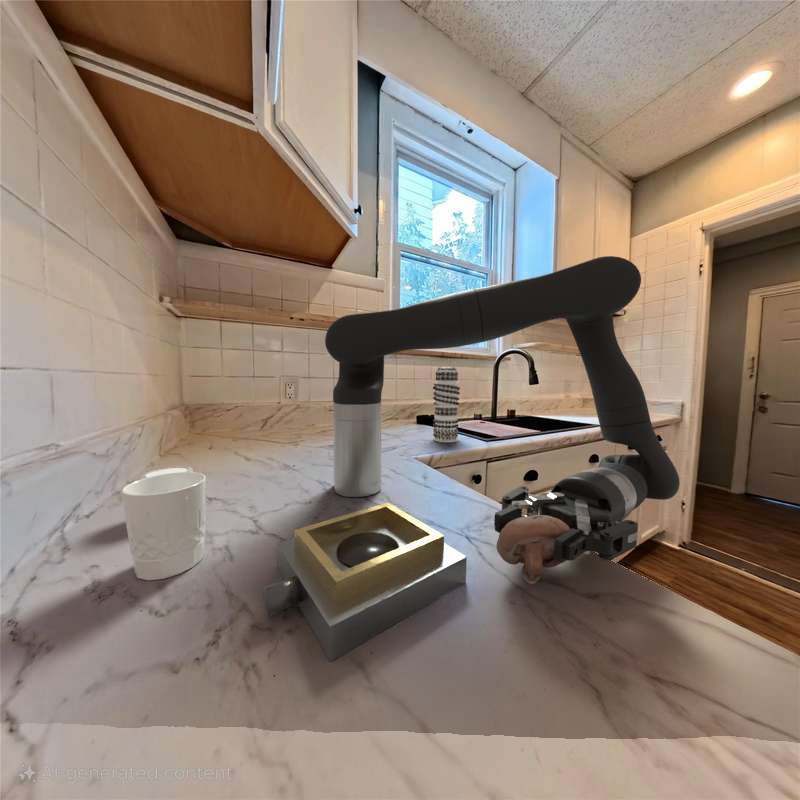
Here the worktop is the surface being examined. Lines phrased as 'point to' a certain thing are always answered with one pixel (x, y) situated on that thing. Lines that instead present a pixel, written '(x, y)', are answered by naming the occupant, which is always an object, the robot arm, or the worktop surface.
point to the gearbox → (362, 574)
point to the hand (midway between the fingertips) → (525, 536)
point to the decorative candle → (446, 405)
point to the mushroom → (531, 543)
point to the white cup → (165, 523)
